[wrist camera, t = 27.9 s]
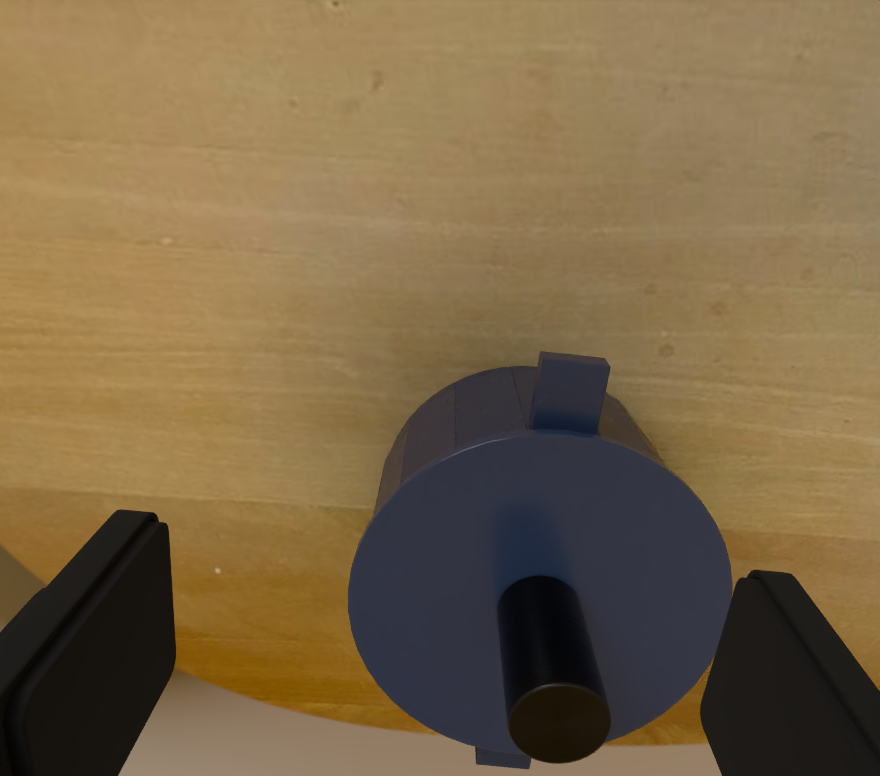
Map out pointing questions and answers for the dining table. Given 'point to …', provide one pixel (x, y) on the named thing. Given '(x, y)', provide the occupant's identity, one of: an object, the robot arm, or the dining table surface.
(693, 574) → the lid
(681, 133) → the dining table surface
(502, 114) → the dining table surface
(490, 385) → the pot
